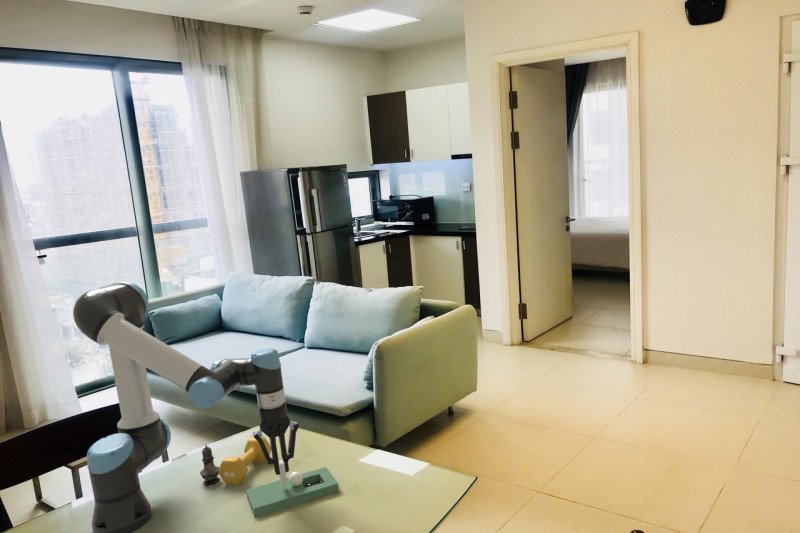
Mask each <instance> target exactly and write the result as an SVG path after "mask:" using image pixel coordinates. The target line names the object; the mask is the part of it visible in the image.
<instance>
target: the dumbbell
mask: <svg viewBox="0 0 800 533" xmlns="http://www.w3.org/2000/svg"><path fill="white" fill-rule="evenodd" d="M262 440H263V442H264V444H265V446H266V449H267V451H268V453H269V456H270V455H271V454H272V451H271V444H270V442H269V441H268V440H267V438H265V436H262ZM245 443H246V444H245V446H244V449H243V452H244V453H243V454H242V455H241V456H226V457H225V458H224V459H223V460H222V461H221V463H220V465H219V475H218V476H219V477H220V479H221V480H222V481H223V483H224V484H225V485H227V486H240V485H241V484H242V483H244V481H245V480H246V477H247V475H248V472H249V470H248V467H249V465H250V464H251V463H254V464H262V463H265V462H267V461H266V458H265V456H264V454H263V451H262V449H261V447H260V445H259V442H258V441H257V440H256V439H255V438H254V436H253V435H252V436H251V437H250V438H249V439H248V440H247V441H246V442H245Z"/></svg>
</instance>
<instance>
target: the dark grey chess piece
mask: <svg viewBox="0 0 800 533" xmlns="http://www.w3.org/2000/svg"><path fill="white" fill-rule="evenodd" d="M201 453H202V459H201V462H202V463H203V469H201V471H200V472H199V475H200V477H202V479H203V482H202V485H203V486H204V485H205V487H211V486H214V484H215V485H217V484H218V483H220V482H221V477H220V475H219V468H220V466H218V465H215V462H214V461H215V460H214V459H215V457H214V456H213V451H212V448H211V447H210V446H208V445H207V444H205V446H204V448H202V450H201ZM219 481H220V482H219ZM216 483H217V484H216ZM210 485H211V486H210Z"/></svg>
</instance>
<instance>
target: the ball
mask: <svg viewBox="0 0 800 533" xmlns="http://www.w3.org/2000/svg"><path fill="white" fill-rule="evenodd" d="M302 474H303V473H301V472H299V471H292V472H291V473H290V475H289V477H288V478H289V482H290V484H291V485H292V486H299V485H300V484H301V483H302V482H303V476H302Z"/></svg>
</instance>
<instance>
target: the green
mask: <svg viewBox="0 0 800 533" xmlns="http://www.w3.org/2000/svg"><path fill="white" fill-rule="evenodd" d="M301 474H302V476H303V482H302V483H301V484H300V485H299V486H292V485H291V484H290V482H289V477H286V478H287V485H285V486H282V485H281V483H280V479H279V480H275V481H272V482H268V483H265V484H261V485H258V486H254V487H251V488H248V489H246V490H245V493H246V499H247V501H248V504H249V507H250V509H251V512H252V514H253V516H254V518H257V517H260V516H263V515H267V514H271V513H273V512H276V511H280V510H283V509H286V508H290V507H294V506H296V504H297V505H299V503H300V504H304V503H306V502H305V501H307V502H310V501H312V499H313V500H316V499H315V498H317V499H320V498H323V497H327V496H329V494H330V495H332V493H333V494H335V492H336V493H339V492H340V486H339V482H338V481H337V480H336V478H335V477H334V475H333V474H332V472H330V470H329V469H328V467H327V466H324V467H322V468H321V467H320V468H317V469H314V470H310V471H308V472H304V473H301ZM320 481H321V482H320ZM308 484H310V485H308ZM338 491H339V492H338ZM322 496H323V497H322ZM319 497H320V498H319ZM309 500H310V501H309ZM293 505H294V506H293Z"/></svg>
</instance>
